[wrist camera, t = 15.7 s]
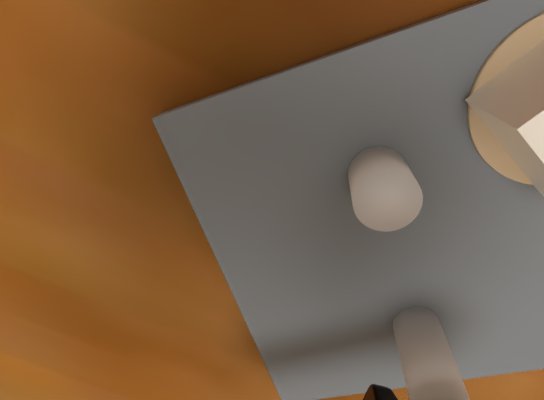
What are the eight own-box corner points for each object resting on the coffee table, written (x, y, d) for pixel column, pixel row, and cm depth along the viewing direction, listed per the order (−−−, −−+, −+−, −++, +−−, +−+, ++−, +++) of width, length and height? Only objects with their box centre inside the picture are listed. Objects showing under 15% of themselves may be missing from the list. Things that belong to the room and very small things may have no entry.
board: (161, 112, 19) (78, 160, 12) (643, -57, 14) (911, -120, 8) (285, 387, 26) (272, 509, 19) (637, 336, 21) (775, 475, 15)
